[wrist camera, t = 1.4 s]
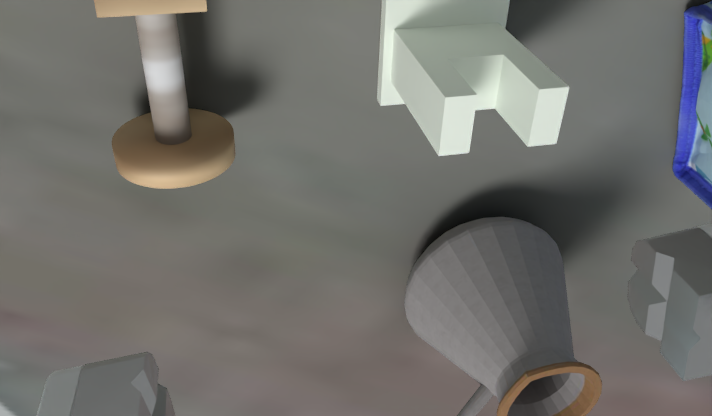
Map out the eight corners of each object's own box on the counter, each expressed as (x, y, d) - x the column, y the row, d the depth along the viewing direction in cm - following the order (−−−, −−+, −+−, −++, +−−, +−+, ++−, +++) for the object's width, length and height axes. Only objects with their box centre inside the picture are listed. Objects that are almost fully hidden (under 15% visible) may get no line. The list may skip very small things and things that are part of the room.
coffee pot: (505, 166, 45) (631, 329, 33) (565, 263, 51) (687, 426, 40) (249, 336, 48) (279, 538, 36) (337, 406, 55) (387, 595, 43)
